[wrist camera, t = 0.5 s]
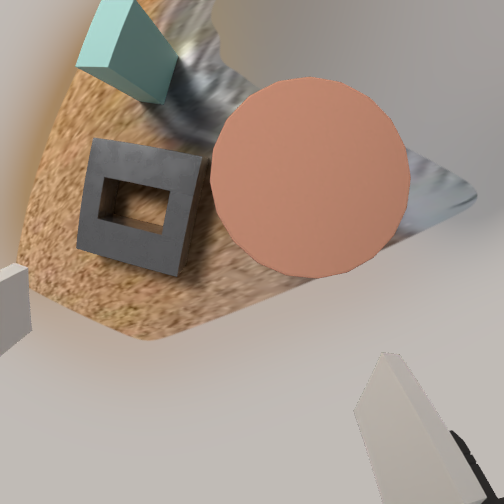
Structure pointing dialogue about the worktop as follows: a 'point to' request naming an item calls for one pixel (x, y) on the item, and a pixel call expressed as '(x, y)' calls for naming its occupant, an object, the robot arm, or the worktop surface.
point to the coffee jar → (310, 177)
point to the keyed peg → (128, 51)
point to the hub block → (131, 230)
